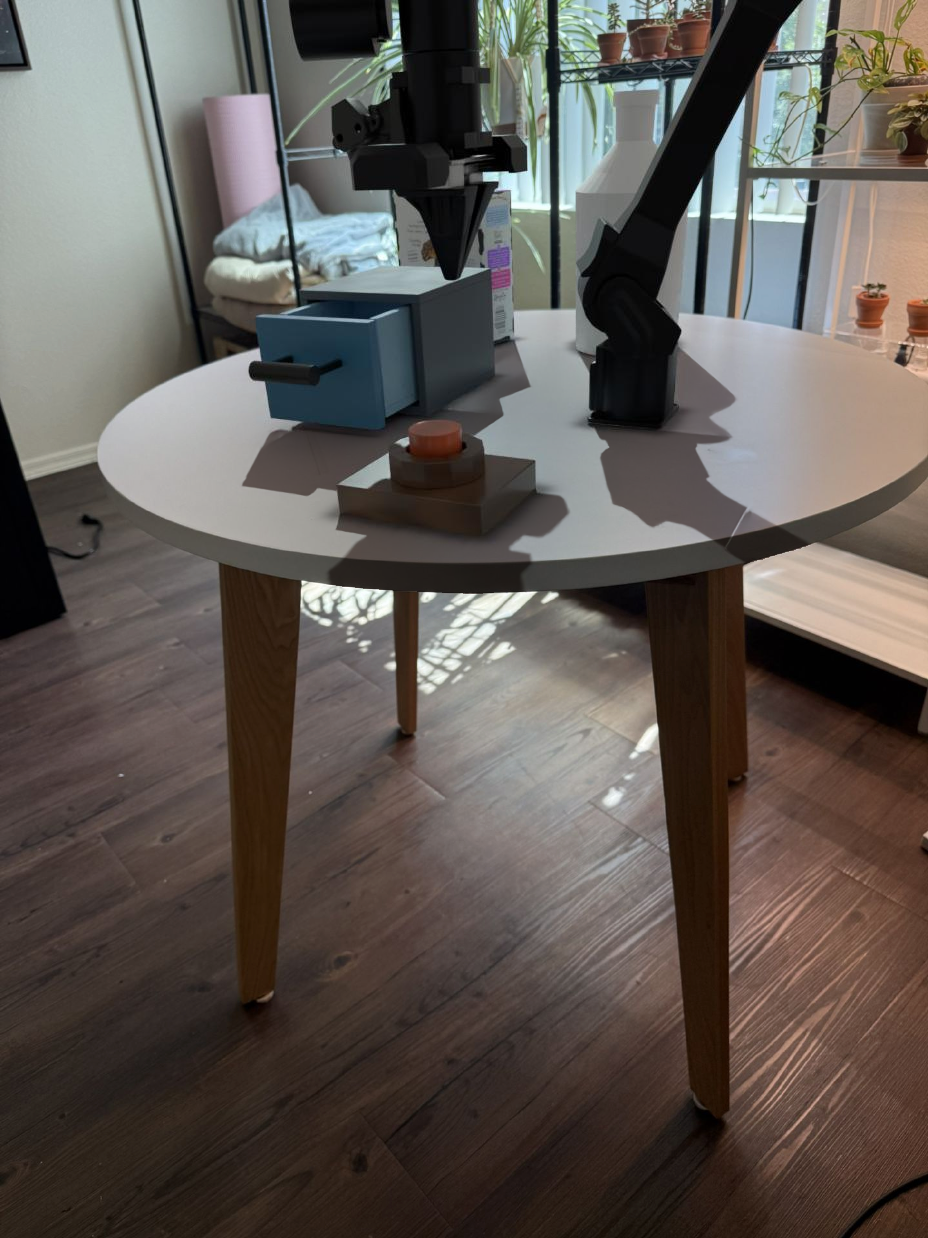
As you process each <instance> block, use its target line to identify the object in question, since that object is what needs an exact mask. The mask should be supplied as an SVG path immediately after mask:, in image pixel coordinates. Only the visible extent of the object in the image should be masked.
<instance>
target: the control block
mask: <svg viewBox="0 0 928 1238" xmlns="http://www.w3.org/2000/svg"><path fill="white" fill-rule="evenodd" d="M536 465H537V464H536V460H535V459H529V458H520V457H513V456H504V455H497V454H487V453H485V446H484V441H483V440H482V439H481V438H479V437H476V436H474V435H471V434H469V433H462V451H461V452H460V453H457V454H453V455H450V456H446V457H433V458H428V457H419V456H413V455H411V454H410V445H409V436H407V437H403V438H400V439H398V440H397V441H395V442H393V443H392V444H390V445H389V446H388V452H387V453H385V454H384V455H383V456H381V457H379V458H377V459H376V460H374V461H372V462H371V463H369V464H368V465H366V466H364V467H363V468H361V469H359V470H358V471H356V472H354V473H353V474H352V475H350V476H348V477H347V478H345V479H343V480H342V481H340V482H337V483H336V486H335V487H336V494H337V502H338V508H339V510H338V511H339V514H341V515H344V516H345V515H346V516H351V517H357V518H364V519H371V520H376V521H383V522H388V523H395V524H400V525H407V526H413V527H420V528H425V529H432V530H439V531H445V532H451V533H455V534H456V533H457V534H463V535H468V536H475V537H480V538H481V537H484V536H485V535H486V534H487V533H489V531H490V530H491V529H493V528H494V527H495V526H496V525H497V524H498V523H499V522H501V521H502V520H503V519H504V518H505V517H506V516H507V515H508V514H509V513H511V511H512V510H514V509H515V508H516V507H517V506H518V505H520V503H522V502H523V501H524V500H525V499H526V498H527V497H528V496H530V495H531V493H532V492H534V491H535V490H536V488H537V481H536V480H537V477H536V476H537V473H536V471H537V470H536Z"/></svg>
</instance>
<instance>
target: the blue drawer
mask: <svg viewBox="0 0 928 1238" xmlns="http://www.w3.org/2000/svg"><path fill="white" fill-rule="evenodd" d="M253 318H254V324H255V330H256V335H257V336H256V337H257V343H258V348H259V355H260V360H252V361H251V362H250V363H249V365H248V368H247V369H248V370H247V371H248V372H247V373H248V376H249V378H250V379H251V380H252V381H255V382H263V383H264V386H265V391H266V398H267V404H268V410H269V416H270V417H269V418H270V419H274V420H275V419H276V420H282V421H283V420H284V421H292V422H293V421H294V422H302V423H311V424H319V425H320V424H321V425H328V426H337V427H346V428H354V429H355V428H356V429H363V430H364V429H365V430H372V431H380V430H382V429H383V428H385V427H386V419H385V418H388V417H391V416H392V415H394V414H396V413H395V412H397V411H399V410H401V409H403V408H405V407H406V406H408V405H410V404H412V403H414V402H415V401H417V400H419V392H418V379H417V366H416V352H415V339H414V326H413V312H412V304H403V303H379V302H355V301H331V300H321V301H318V302H315V303H312V304H309V305H306V306H302V307H301V306H299V307H297V308H294V309H290V310H287V311H284V312H281V313H279V314H267V313H263V314H259V315H256V316H254V317H253Z"/></svg>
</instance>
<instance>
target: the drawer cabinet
mask: <svg viewBox="0 0 928 1238" xmlns="http://www.w3.org/2000/svg"><path fill="white" fill-rule="evenodd" d="M298 295H299V299H300V307H302V306H306V305H309V304H312V303H315V302H318V301H321V300H331V301H355V302H379V303H403V304H412V312H413V326H414V339H415V352H416V366H417V379H418V392H419V400H417V401H415V402H414V403H412V404H410V405H408V406H406V407H405V408H403V409H401V410H399V411H397V412H395V413H394V414H403V415H404V414H405V415H412V416H423V417H429V416H431V415H432V414H434V413H435V412H437V411H439V410H441V409H442V408H444V407H447V406H448V405H450V404H451V403H453V402H454V401H457V400H458V399H460V398H461V397H463V396H464V395H466V394H468V393H469V392H471V391H473V390H475V389H476V388H478V387H479V386H481V385H483V384H485V383H487V382H488V381H490V380H491V379H493V378H495V377H496V370H495V369H496V368H495V367H496V366H495V344H494V335H493V303H492V271H491V268H464V269H463V272H462V275H461V277H460V279H458V280H455V281H449V280H445V279H444V277H443V274H442V271H441V268H440V267H417V266H399V265H380V266H376V267H373V268H370V269H366V270H363V271H359V272H356V273H351V274H349V275H345V276H343V277H340V278H335V279H332V280H329V281H326V282H322V283H319V284H315V285H312V286H309V287H305V288H302V289H299V290H298Z"/></svg>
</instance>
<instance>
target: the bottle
mask: <svg viewBox="0 0 928 1238" xmlns="http://www.w3.org/2000/svg"><path fill="white" fill-rule="evenodd" d="M612 95H613V96H612V99H613V101H612V107H613V108H615V142H614V143H613V144H612V146H611V147H610V148H609V149H608V150H607V152H606V153H605V155H604V156H603V157H602V158H601V160H600V161H599V163H598V164H597V165H596V167H595V168H594V169H593V170H592V171H591V173H590V174H589V175H588V176H587V177H586V178H585V179H584V181H583V182H582V183H581V184H580V185H579V186H578V187H577V188H576V190H575V348H576V350H577V351H579V352H581V353H584V354H587V355H592V356H596V346H597V345H599V344H600V343H602V342H603V341H605V340H606V339H608V337H607V336H606V334H605V333H603V332H601V331H599V330H598V329H596V328H595V327H594V326H592V324H591V323H590V322H589V320H588V319H587V318H586V316H585V313H584V310H583V307H582V304H581V300H580V297H579V294H578V280H579V276H580V272H579V269H578V267H577V264H576V262H577V261H578V260H579V259H580V258H581V257H582V256H583V255H584V254H585V252H586V250H587V249H588V247H589V245H590V242H591V240H592V236H593V233H594V230H595V226H596V223H597V221H598V218H599V217H602V218H603V219H605V220H606V221H607V222H609V223H610V224H611V225H612V226H613V225H614V224H615V222H616V221H617V220H618V219H619V217H620V216H621V215H622V214H623V212H624V211H625V210H626V209H627V207H628V206H629V205H630V203H631V202H632V200H633V199H634V197H635V194H636V192H637V190H638V188H639V186H640V184H641V182H642V180H643V178H644V176H645V174H646V172H647V170H648V168H649V166H650V164H651V162H652V160H653V158H654V156H655V154H656V151H657V149H658V147H659V145H658V144H657V143H656V142H655V140H654V132H655V120H656V108H657V105H659V104H660V88H659V89H658V88H657V89H637V90H635V89H634V90H621V91H613V93H612ZM689 204H690V203H689ZM689 204H688V206H687V208H686V210H685V212H684V214H683V216H682V218H681V220H680V222H679V224H678V226H677V229H676V232H675V236H674V240H673V244H672V249H671V253H670V257H669V261H668V265H667V269H666V273H665V276H664V279H663V282H662V285H661V287H660V290H659V293H658V296H657V300H658V301H659V302H660V303H661V304H662V305H663V306H664V307H665V308H666V310H667V311H668V312H669V314H670V315H671V316H672V318H673V319H674V320H675V321H676V323H677V324H678V325H679V318H680V307H681V296H682V284H683V283H682V282H683V272H684V263H685V261H684V259H685V248H686V239H687V238H686V237H687V227H688V216H689V215H688V214H689Z"/></svg>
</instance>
